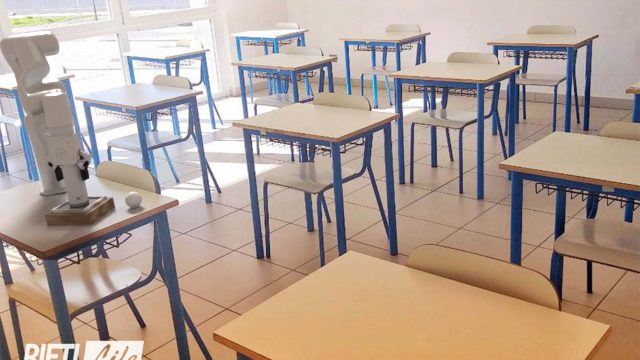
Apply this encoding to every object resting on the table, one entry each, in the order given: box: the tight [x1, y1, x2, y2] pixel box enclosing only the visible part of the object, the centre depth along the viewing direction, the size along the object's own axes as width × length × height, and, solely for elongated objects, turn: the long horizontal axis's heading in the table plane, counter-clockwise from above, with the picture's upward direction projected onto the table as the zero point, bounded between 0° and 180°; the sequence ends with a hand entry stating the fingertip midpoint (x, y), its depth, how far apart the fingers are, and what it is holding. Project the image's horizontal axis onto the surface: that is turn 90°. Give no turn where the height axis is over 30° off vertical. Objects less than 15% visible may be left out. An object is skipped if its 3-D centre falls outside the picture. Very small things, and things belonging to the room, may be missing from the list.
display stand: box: [44, 195, 116, 227], centre depth 218 cm, size 16×16×5 cm
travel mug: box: [61, 164, 89, 207], centre depth 215 cm, size 6×7×20 cm
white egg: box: [124, 191, 143, 209], centre depth 223 cm, size 8×6×6 cm
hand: (73, 179), depth 215 cm, fingers open, 9 cm apart
